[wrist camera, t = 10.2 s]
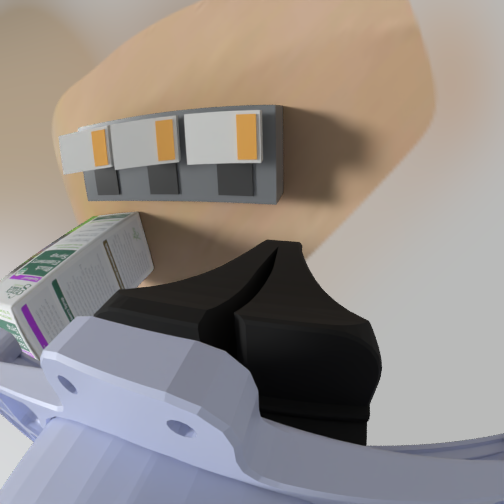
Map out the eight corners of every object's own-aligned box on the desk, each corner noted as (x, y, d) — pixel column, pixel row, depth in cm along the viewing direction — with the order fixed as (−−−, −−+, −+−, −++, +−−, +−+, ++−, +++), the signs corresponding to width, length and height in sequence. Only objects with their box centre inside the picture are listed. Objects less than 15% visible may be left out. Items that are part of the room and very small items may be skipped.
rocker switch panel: (283, 191, 21) (274, 208, 18) (110, 190, 24) (82, 203, 21) (282, 105, 18) (273, 104, 15) (102, 123, 22) (71, 129, 19)
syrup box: (139, 209, 25) (6, 303, 12) (157, 270, 27) (54, 383, 14) (93, 215, 26) (-26, 295, 13) (111, 270, 29) (12, 363, 16)
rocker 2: (181, 159, 18) (178, 162, 17) (120, 166, 18) (114, 170, 17) (178, 115, 17) (175, 115, 16) (116, 123, 16) (109, 125, 15)
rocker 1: (118, 163, 19) (111, 167, 18) (71, 170, 19) (62, 175, 18) (114, 124, 18) (106, 125, 17) (67, 134, 18) (57, 136, 17)
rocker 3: (263, 159, 17) (260, 163, 15) (193, 161, 17) (186, 165, 16) (262, 110, 15) (259, 109, 14) (190, 113, 16) (183, 114, 15)
